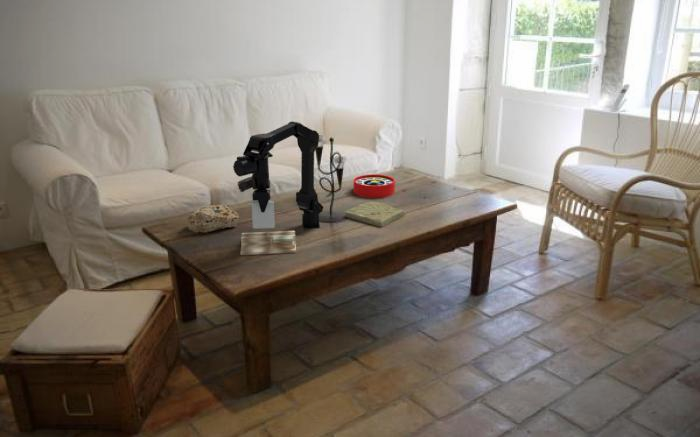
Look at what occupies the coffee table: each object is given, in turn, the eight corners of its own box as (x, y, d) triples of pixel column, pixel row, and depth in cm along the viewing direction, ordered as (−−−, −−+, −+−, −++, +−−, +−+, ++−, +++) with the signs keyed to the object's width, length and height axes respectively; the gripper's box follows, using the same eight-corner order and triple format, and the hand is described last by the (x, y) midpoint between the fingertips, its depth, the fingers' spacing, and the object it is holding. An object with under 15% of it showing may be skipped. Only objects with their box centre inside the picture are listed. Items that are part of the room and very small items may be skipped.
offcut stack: (294, 243, 215) (294, 234, 214) (295, 248, 211) (294, 239, 210) (270, 245, 214) (270, 236, 213) (270, 249, 211) (269, 240, 209)
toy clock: (374, 172, 290) (403, 180, 276) (374, 183, 292) (403, 192, 278) (345, 179, 278) (373, 188, 264) (345, 191, 280) (373, 201, 266)
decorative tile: (381, 228, 234) (381, 220, 233) (344, 217, 246) (343, 209, 245) (407, 216, 247) (407, 208, 246) (370, 206, 259) (370, 199, 258)
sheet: (274, 226, 216) (273, 200, 213) (274, 227, 214) (273, 202, 211) (253, 227, 215) (251, 201, 212) (253, 228, 213) (251, 203, 210)
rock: (228, 218, 247) (231, 198, 243) (242, 236, 237) (245, 215, 233) (181, 223, 235) (183, 202, 231) (193, 242, 226) (196, 220, 221)
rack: (295, 237, 223) (294, 228, 222) (296, 252, 210) (295, 242, 209) (243, 240, 221) (242, 230, 220) (240, 255, 208) (239, 244, 207)
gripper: (239, 164, 215) (242, 204, 220) (236, 178, 198) (239, 221, 203) (269, 163, 216) (271, 203, 222) (269, 177, 199) (271, 219, 204)
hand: (262, 211), depth 213 cm, fingers closed on sheet, 2 cm apart
